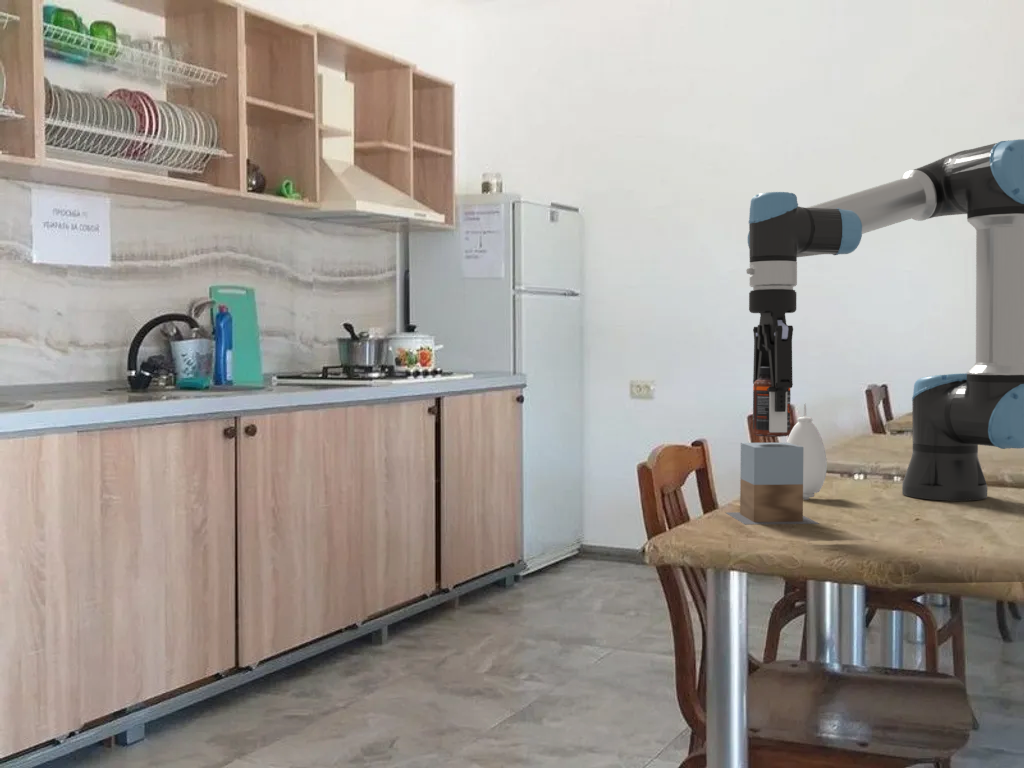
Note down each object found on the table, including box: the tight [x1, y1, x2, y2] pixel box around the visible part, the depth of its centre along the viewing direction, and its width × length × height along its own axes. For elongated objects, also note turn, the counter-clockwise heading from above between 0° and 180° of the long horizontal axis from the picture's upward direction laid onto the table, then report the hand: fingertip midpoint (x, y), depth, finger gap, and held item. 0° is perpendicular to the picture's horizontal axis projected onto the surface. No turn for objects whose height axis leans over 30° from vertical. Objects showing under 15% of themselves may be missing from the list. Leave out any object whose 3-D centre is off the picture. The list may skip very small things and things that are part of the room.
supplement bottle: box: [752, 367, 791, 438], centre depth 178 cm, size 6×6×11 cm
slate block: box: [740, 442, 803, 485], centre depth 178 cm, size 8×8×6 cm
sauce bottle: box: [785, 403, 828, 501], centre depth 204 cm, size 8×8×18 cm
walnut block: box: [739, 479, 804, 522], centre depth 178 cm, size 8×8×6 cm
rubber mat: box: [725, 511, 820, 526], centre depth 178 cm, size 12×12×1 cm
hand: (771, 430), depth 178 cm, fingers closed on supplement bottle, 6 cm apart
